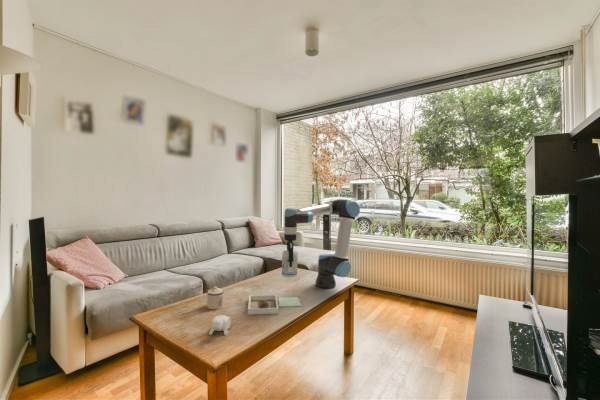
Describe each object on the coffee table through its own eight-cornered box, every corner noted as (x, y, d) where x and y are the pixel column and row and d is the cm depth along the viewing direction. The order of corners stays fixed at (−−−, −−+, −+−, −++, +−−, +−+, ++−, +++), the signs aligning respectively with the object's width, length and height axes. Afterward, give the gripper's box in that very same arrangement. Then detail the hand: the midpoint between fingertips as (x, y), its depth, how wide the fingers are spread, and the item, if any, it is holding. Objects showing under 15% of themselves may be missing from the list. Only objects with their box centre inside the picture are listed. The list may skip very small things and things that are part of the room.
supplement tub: (279, 273, 172) (280, 250, 172) (294, 272, 175) (294, 249, 175) (284, 278, 163) (284, 254, 162) (299, 277, 166) (299, 253, 166)
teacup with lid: (222, 309, 156) (222, 289, 156) (205, 310, 155) (205, 289, 154) (224, 301, 168) (224, 282, 168) (208, 301, 166) (209, 282, 166)
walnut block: (266, 308, 159) (266, 300, 159) (268, 312, 154) (268, 303, 154) (258, 309, 158) (258, 300, 158) (259, 313, 153) (259, 304, 153)
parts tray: (276, 299, 173) (276, 294, 173) (278, 313, 153) (278, 308, 153) (249, 299, 171) (249, 295, 171) (247, 314, 150) (247, 309, 150)
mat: (298, 298, 176) (298, 297, 176) (301, 306, 163) (301, 305, 163) (278, 298, 175) (278, 297, 175) (279, 307, 162) (279, 306, 162)
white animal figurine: (214, 332, 136) (204, 336, 122) (216, 314, 139) (207, 315, 125) (231, 333, 136) (223, 337, 122) (233, 315, 139) (225, 316, 125)
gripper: (283, 231, 179) (282, 265, 179) (285, 236, 157) (284, 275, 157) (294, 231, 180) (293, 264, 180) (298, 236, 158) (297, 274, 158)
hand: (289, 269), depth 169 cm, fingers closed on supplement tub, 10 cm apart
